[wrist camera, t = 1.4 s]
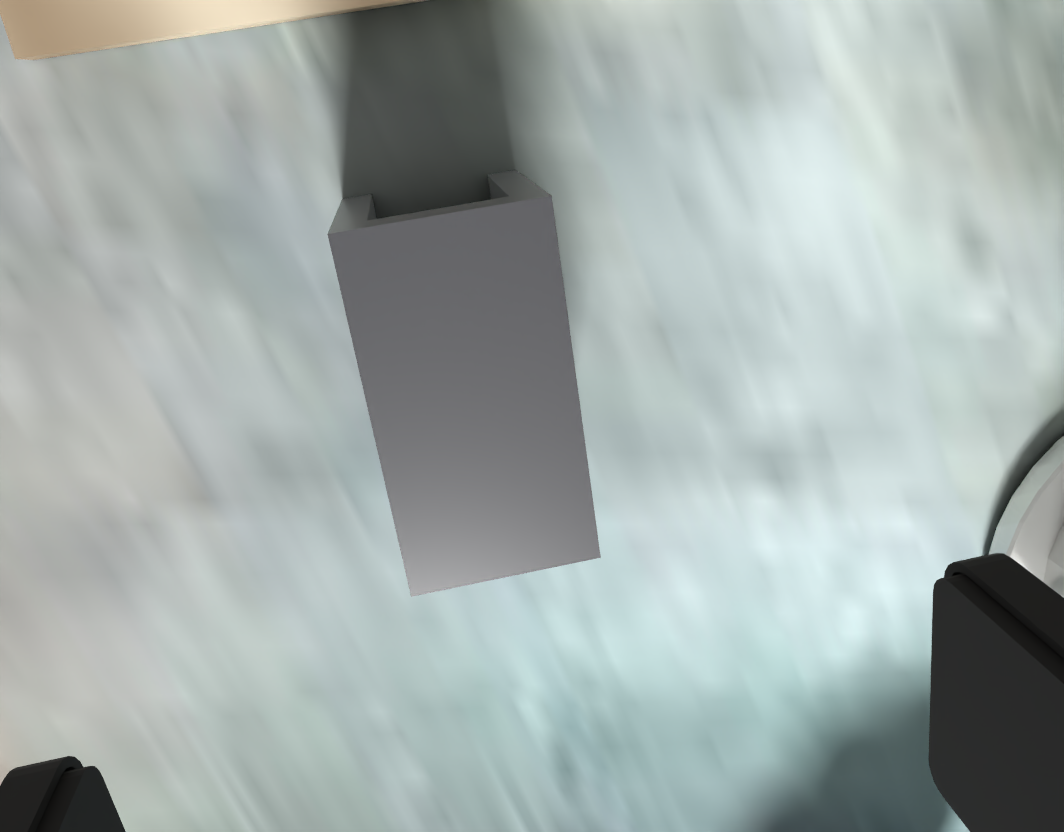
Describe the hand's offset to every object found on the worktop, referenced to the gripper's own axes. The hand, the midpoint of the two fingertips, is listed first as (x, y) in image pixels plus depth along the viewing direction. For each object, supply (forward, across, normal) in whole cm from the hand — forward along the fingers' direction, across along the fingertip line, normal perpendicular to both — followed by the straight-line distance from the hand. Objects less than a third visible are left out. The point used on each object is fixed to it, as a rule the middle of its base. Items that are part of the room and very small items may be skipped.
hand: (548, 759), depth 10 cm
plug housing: (+18, 0, 0) cm, 18 cm away
